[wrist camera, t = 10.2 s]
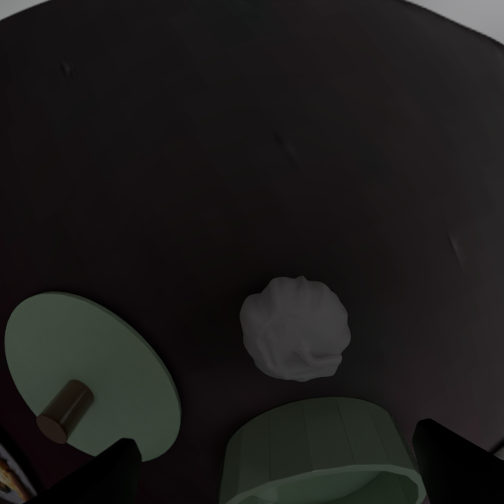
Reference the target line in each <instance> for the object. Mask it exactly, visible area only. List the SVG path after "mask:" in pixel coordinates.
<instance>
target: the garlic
mask: <svg viewBox="0 0 504 504" xmlns="http://www.w3.org/2000/svg"><path fill="white" fill-rule="evenodd" d="M347 318H348V314H347V311H346V309H345V308H344V306H343V305H342V304H341V302H340V300H339V298H338V296H337V295H336V294H335V293H334V292H332V291H331V290H330V289H329V287H328V286H327V285H325V284H324V283H322V282H318V281H307V280H306V279H305V277H304V276H299V277H297V278H296V279H292V278H288V277H278V278H274V279H272V280H271V281H270V283H269V284H268V286H267V287H266V288H265V289H264V290H263V292H262V293H259V294H252V295H250V296H248V297H247V298H246V299H245V301H244V303H243V305H242V308H241V311H240V322H241V325H242V330H243V333H244V336H243V343H244V346H245V348H246V349H247V351H248V352H249V354H250V355H251V356H252V357H253V359H254V362H255V365H256V366H257V367H258V368H259V369H260V370H261V371H262V372H263V373H265V374H267V375H269V376H272V377H274V378H282V379H284V380H296V381H300V382H305V381H308V380H309V379H313V378H317V377H325V376H332V375H334V374H335V372H336V370H337V367H338V365H339V364H340V363H341V360H342V356H341V353H342V351H343V350H344V349H345V348H346V347H347V346H348V345H349V343H350V338H351V334H350V329H349V327H348V325H347Z"/></svg>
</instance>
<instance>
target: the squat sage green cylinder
mask: <svg viewBox="0 0 504 504" xmlns="http://www.w3.org/2000/svg"><path fill="white" fill-rule="evenodd" d="M425 496H426V490H425V487H424V484H423V481H422V478H421V475H420V471H419V467H418V463H417V461H416V459H415V457H414V454H413V452H412V450H411V448H410V446H409V444H408V442H407V440H406V438H405V436H404V434H403V432H402V430H401V428H400V426H399V425H398V424H397V422H396V421H395V419H394V418H393V417H392V415H391V414H390V413H388V412H387V411H386V410H385V409H383V408H381V407H380V406H378V405H376V404H373V403H371V402H368V401H365V400H360V399H356V398H348V397H321V398H313V399H306V400H301V401H297V402H292V403H288V404H285V405H282V406H279V407H276V408H274V409H271V410H269V411H267V412H264V413H263V414H261V415H259V416H257V417H255V418H253V419H252V420H250V421H249V422H247V423H246V424H245V425H243V426H242V427H241V428H240V429H239V430H238V431H237V432H236V433H235V434H234V435H233V436H232V438H231V439H230V441H229V442H228V444H227V446H226V448H225V451H224V456H223V459H222V463H221V470H220V476H219V483H218V490H217V497H216V504H421V503H422V502H423V500H424V498H425Z"/></svg>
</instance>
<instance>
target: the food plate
mask: <svg viewBox="0 0 504 504" xmlns="http://www.w3.org/2000/svg"><path fill="white" fill-rule="evenodd" d="M37 495H39V493H38V492H37V491H36V490H35V488H34V486H33V485H32V483H31V481H30V480H29V478H28V477H27V475H26V474H25V473H24V471H23V469H22V467H21V465H20V464H19V463H18V462H17V460H16V459H15V458H14V457H13V456H12V454H11V453H10V452H9V451H8V450H7V449H6V447H5V446H4V445H3V444H2V443H1V442H0V497H1V498H3V499H5V500H8V501H10V502H12V503H14V502H15V504H16V503H17V504H22V503H24V502H26V501H28V500H30V499H32V498H34V497H35V496H37Z"/></svg>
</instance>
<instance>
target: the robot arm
mask: <svg viewBox="0 0 504 504" xmlns="http://www.w3.org/2000/svg"><path fill="white" fill-rule="evenodd" d="M412 443H413V447H414V451H415V455H416V459H417V463H418V467H419V471H420V475H421V478H422V481H423V484H424V487H425V490H426V492H427V495H428V497H429V500H430V503H431V504H504V460H502V459H500V458H498V457H496V456H495V455H493V454H491V453H489V452H487V451H486V450H484V449H482V448H480V447H478V446H477V445H475V444H473V443H471V442H470V441H468V440H466V439H464V438H463V437H461V436H459V435H458V434H456V433H454V432H452V431H451V430H449V429H447V428H446V427H444V426H442V425H441V424H439V423H437V422H436V421H434V420H432V419H430V418H428V419H424V420H420V421H419V422H418V423H417V425H416V428H415V432H414V435H413V439H412ZM141 463H142V455H141V452H140V450H139V448H138V446H137V443H136V441H135V440H134V439H132V438H125V437H123V438H120V439H119V440H118V441H116V442H115V443H114V444H112V445H111V446H109V447H108V448H107V449H105V450H104V451H102V452H101V453H100V454H98V455H97V456H95V457H94V458H93V459H91V460H90V461H88V462H87V463H85V464H84V465H83V466H81V467H80V468H78V469H77V470H75V471H74V472H72V473H71V474H69V475H68V476H66V477H65V478H63V479H62V480H60V481H59V482H57V483H56V484H54V485H53V486H51V487H50V488H48V489H47V490H45V491H43V492H42V493H40V494H39V495H37V496H35V497H34V498H32V499H30V500H28V501H26V502H24V503H22V504H133V503H134V500H135V496H136V491H137V485H138V480H139V474H140V468H141Z"/></svg>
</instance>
